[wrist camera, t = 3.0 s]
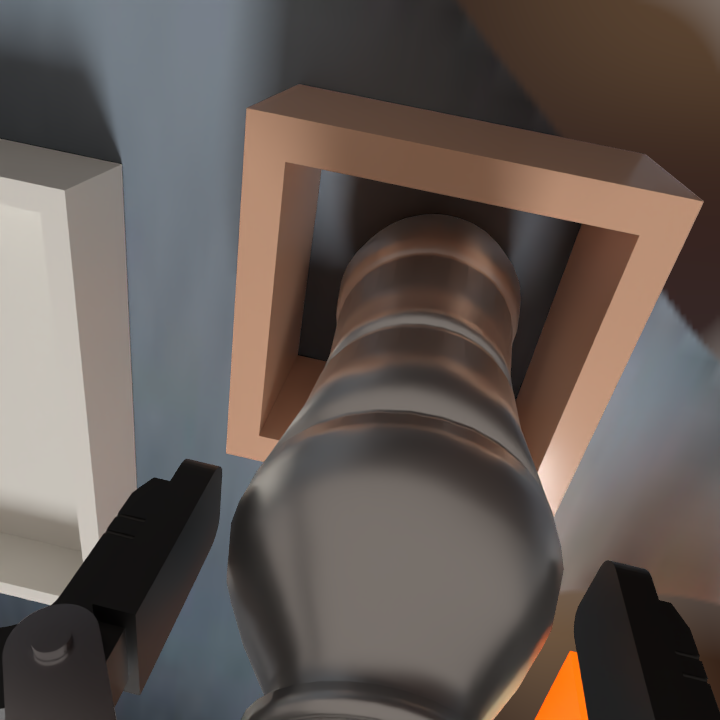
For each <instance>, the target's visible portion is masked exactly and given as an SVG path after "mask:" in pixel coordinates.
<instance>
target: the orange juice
mask: <svg viewBox="0 0 720 720" xmlns="http://www.w3.org/2000/svg"><path fill="white" fill-rule="evenodd" d="M535 720H588V716H587V710H586V704H585V698H584V692H583V686H582V680H581V674H580V668H579V662H578V656H577V652H572V651H570V652H569V654H568V656H567V658H566V660H565V662H564V664H563V666H562V668H561V670H560V672H559V674H558V675H557V677H556V679H555V681H554V683H553V685H552V687H551V689H550V691H549V693H548V695H547V697H546V699H545V701H544V703H543V705H542V707H541V709H540V711H539V713H538V715H537V716H536V718H535Z"/></svg>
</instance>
